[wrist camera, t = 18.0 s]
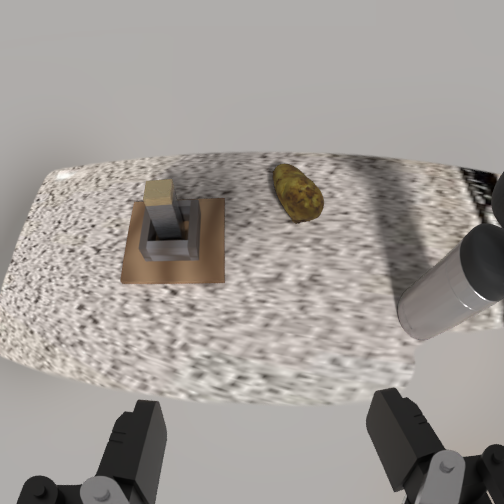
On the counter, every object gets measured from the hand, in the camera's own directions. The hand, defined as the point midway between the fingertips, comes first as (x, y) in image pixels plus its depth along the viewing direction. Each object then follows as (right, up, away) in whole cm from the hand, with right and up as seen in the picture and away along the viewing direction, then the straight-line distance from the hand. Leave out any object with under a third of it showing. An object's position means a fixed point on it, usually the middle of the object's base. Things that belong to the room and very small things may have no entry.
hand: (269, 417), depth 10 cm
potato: (+7, +14, +43) cm, 46 cm away
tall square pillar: (-13, +8, +38) cm, 41 cm away
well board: (-13, +8, +38) cm, 41 cm away
